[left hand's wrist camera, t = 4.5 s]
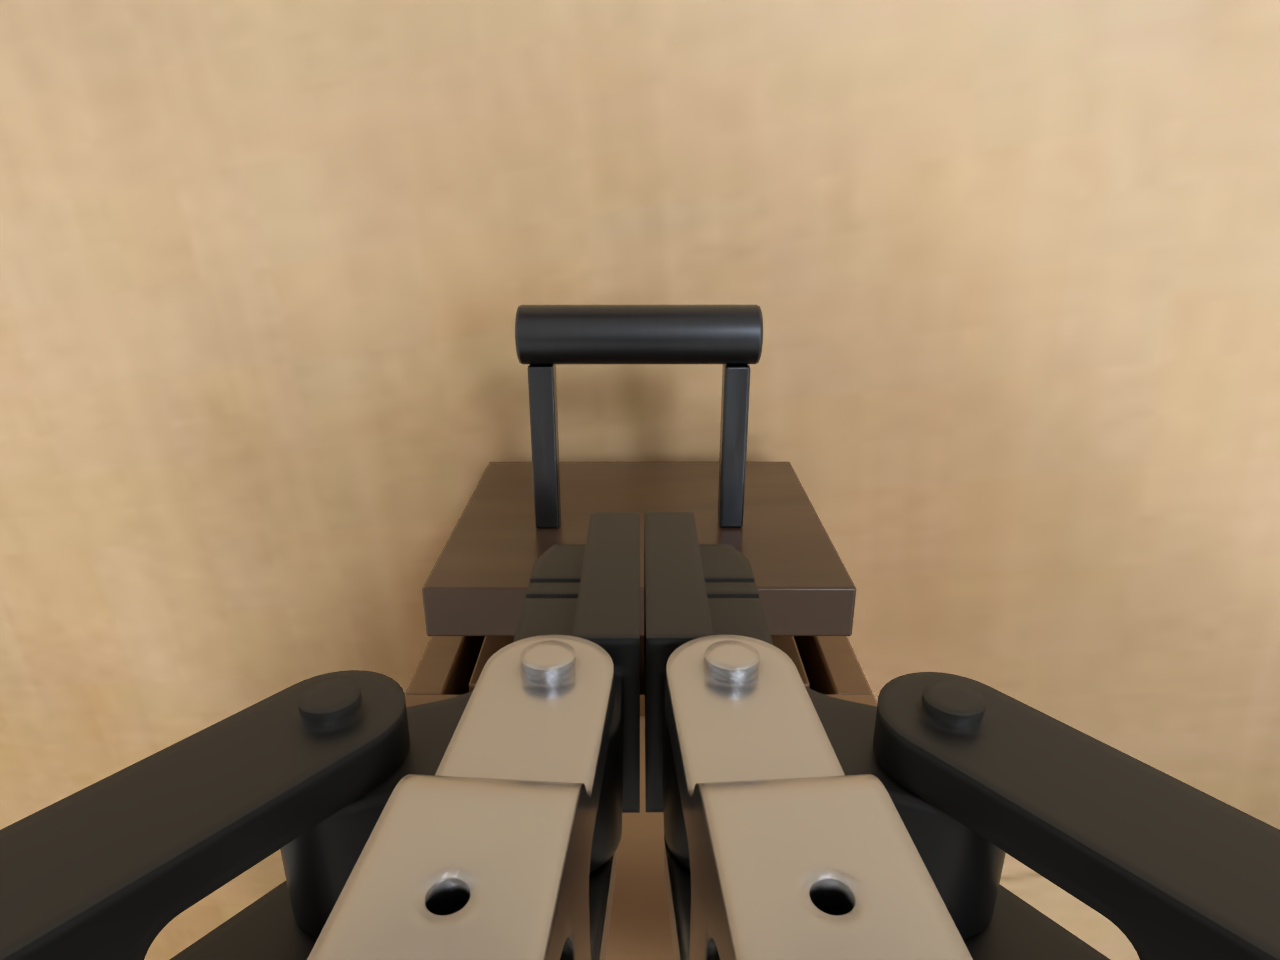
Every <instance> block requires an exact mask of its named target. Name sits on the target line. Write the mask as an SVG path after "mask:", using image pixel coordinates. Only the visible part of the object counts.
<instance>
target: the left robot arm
mask: <svg viewBox="0 0 1280 960" xmlns="http://www.w3.org/2000/svg"><path fill="white" fill-rule="evenodd" d="M644 687H645V800H646V812H663V814H664V878H665V886H666V894H667V901H668V909H669V917H670V925H671V933H672V940H673V948H674V956H675V960H1110V959H1109V958H1107V957H1106V956H1104V955H1103V954H1101V953H1100V952H1098V951H1097V950H1095V949H1094V948H1092V947H1091V946H1089V945H1088V944H1086V943H1085V942H1084V941H1082V940H1081V939H1079V938H1078V937H1076V936H1075V935H1073V934H1072V933H1070V932H1069V931H1067V930H1066V929H1064V928H1063V927H1061V926H1060V925H1059V924H1057V923H1056V922H1054V921H1053V920H1051V919H1050V918H1048V917H1047V916H1045V915H1044V914H1042V913H1041V912H1039V911H1038V910H1036V909H1035V908H1034V907H1032V906H1031V905H1029V904H1028V903H1026V902H1025V901H1023V900H1022V899H1020V898H1019V897H1017V896H1016V895H1014V894H1013V893H1011V892H1010V891H1009V890H1007V889H1006V888H1004V887H1003V886H1001V885H1000V884H999V882H1000V877H1001V872H1002V867H1003V863H1004V858H1005V853H1007V854H1009V855H1010V856H1012V857H1014V858H1015V859H1017V860H1018V861H1020V862H1021V863H1023V864H1024V865H1026V866H1028V867H1029V868H1031V869H1032V870H1034V871H1035V872H1037V873H1038V874H1040V875H1041V876H1043V877H1045V878H1046V879H1048V880H1049V881H1051V882H1052V883H1054V884H1055V885H1057V886H1059V887H1060V888H1062V889H1063V890H1065V891H1066V892H1068V893H1069V894H1071V895H1073V896H1074V897H1076V898H1077V899H1079V900H1080V901H1082V902H1083V903H1085V904H1086V905H1088V906H1090V907H1091V908H1093V909H1094V910H1096V911H1097V912H1099V913H1100V914H1102V915H1103V916H1105V917H1106V918H1108V919H1109V920H1110V921H1111V922H1113V923H1114V924H1115V925H1116V926H1117V927H1118V928H1119V929H1120V930H1121V931H1122V932H1123V933H1124V934H1125V935H1126V937H1127V938H1128V939H1129V941H1130V942H1131V943H1132V945H1133V946H1134V948H1135V950H1136V951H1137V954H1138V956H1139V958H1140V960H1280V830H1279V829H1277V828H1274V827H1272V826H1270V825H1268V824H1266V823H1264V822H1262V821H1260V820H1258V819H1256V818H1254V817H1252V816H1250V815H1248V814H1246V813H1244V812H1242V811H1240V810H1238V809H1236V808H1234V807H1232V806H1230V805H1228V804H1226V803H1224V802H1222V801H1220V800H1218V799H1216V798H1214V797H1212V796H1210V795H1208V794H1206V793H1204V792H1202V791H1200V790H1198V789H1196V788H1194V787H1192V786H1190V785H1188V784H1185V783H1183V782H1181V781H1179V780H1177V779H1175V778H1173V777H1171V776H1169V775H1167V774H1165V773H1163V772H1161V771H1159V770H1157V769H1155V768H1153V767H1151V766H1149V765H1147V764H1145V763H1143V762H1141V761H1139V760H1137V759H1135V758H1133V757H1131V756H1129V755H1127V754H1125V753H1123V752H1121V751H1119V750H1117V749H1115V748H1113V747H1111V746H1109V745H1107V744H1105V743H1103V742H1101V741H1099V740H1096V739H1094V738H1092V737H1090V736H1088V735H1086V734H1084V733H1082V732H1080V731H1078V730H1076V729H1074V728H1072V727H1070V726H1068V725H1066V724H1064V723H1062V722H1060V721H1058V720H1056V719H1054V718H1052V717H1050V716H1048V715H1046V714H1044V713H1042V712H1040V711H1038V710H1036V709H1034V708H1032V707H1030V706H1028V705H1026V704H1024V703H1022V702H1020V701H1018V700H1016V699H1014V698H1012V697H1010V696H1007V695H1005V694H1003V693H1001V692H999V691H997V690H995V689H993V688H991V687H989V686H987V685H985V684H982V683H980V682H978V681H975V680H972V679H969V678H965V677H961V676H957V675H953V674H946V673H937V672H919V673H912V674H907V675H903V676H899V677H897V678H895V679H893V680H891V681H890V682H888V683H887V684H886V685H885V686H884V687H883V688H882V690H881V691H880V694H879V696H878V704H877V706H872V705H867V704H862V703H857V702H852V701H847V700H842V699H838V698H834V697H830V696H827V695H824V694H821V693H819V692H816V691H814V690H812V689H810V688H808V687H806V686H804V683H803V681H802V679H801V677H800V674H799V672H798V670H797V668H796V666H795V664H794V662H793V661H792V659H791V658H790V657H789V656H788V655H787V654H786V653H784V652H783V651H782V650H780V649H779V648H777V647H775V646H774V645H773V642H772V638H771V635H770V631H769V628H768V624H767V621H766V617H765V614H764V610H763V607H762V603H761V600H760V598H759V593H758V589H757V586H756V582H755V581H754V575H753V572H752V568H751V565H750V561H749V559H747V558H746V557H745V556H744V555H743V554H741V553H740V552H739V551H738V550H737V549H735V548H734V547H733V546H732V545H731V544H699V542H698V536H697V530H696V523H695V517H694V512H644ZM622 813H640V512H591V513H590V520H589V527H588V533H587V540H586V544H554V545H553V546H551V547H550V548H549V549H548V550H547V551H546V552H544V553H543V554H542V555H541V556H540V557H538V558H537V559H536V560H535V563H534V567H533V570H532V574H531V578H530V583H529V585H528V589H527V592H526V598H525V600H524V603H523V607H522V611H521V614H520V618H519V622H518V625H517V629H516V633H515V636H514V640H513V643H511V644H508V645H507V646H505V647H503V648H501V649H500V650H498V651H497V652H496V653H494V654H493V655H492V656H491V657H490V658H489V659H488V661H487V662H486V664H485V666H484V668H483V670H482V672H481V674H480V677H479V679H478V681H477V683H476V686H475V688H474V690H472V691H470V692H468V693H465V694H462V695H460V696H457V697H453V698H449V699H445V700H441V701H436V702H431V703H426V704H421V705H416V706H411V707H406V701H405V694H404V692H403V689H402V688H401V686H400V685H399V684H398V683H397V682H396V681H394V680H393V679H392V678H389V677H387V676H385V675H382V674H379V673H375V672H369V671H354V670H352V671H339V672H333V673H327V674H323V675H319V676H316V677H313V678H310V679H307V680H304V681H302V682H299V683H297V684H295V685H293V686H291V687H289V688H287V689H285V690H283V691H281V692H279V693H277V694H275V695H273V696H271V697H268V698H266V699H264V700H262V701H260V702H258V703H256V704H254V705H252V706H250V707H248V708H246V709H244V710H242V711H240V712H238V713H236V714H234V715H232V716H230V717H228V718H226V719H224V720H222V721H220V722H218V723H216V724H214V725H212V726H210V727H208V728H206V729H204V730H202V731H200V732H198V733H196V734H194V735H192V736H190V737H188V738H186V739H184V740H182V741H179V742H177V743H175V744H173V745H171V746H169V747H167V748H165V749H163V750H161V751H159V752H157V753H155V754H153V755H151V756H149V757H147V758H145V759H143V760H141V761H139V762H137V763H135V764H133V765H131V766H129V767H127V768H125V769H123V770H121V771H119V772H117V773H115V774H113V775H111V776H109V777H107V778H105V779H103V780H101V781H99V782H97V783H95V784H93V785H90V786H88V787H86V788H84V789H82V790H80V791H78V792H76V793H74V794H72V795H70V796H68V797H66V798H64V799H62V800H60V801H58V802H56V803H54V804H52V805H50V806H48V807H46V808H44V809H42V810H40V811H38V812H36V813H34V814H32V815H30V816H28V817H26V818H24V819H22V820H20V821H18V822H16V823H14V824H12V825H10V826H8V827H6V828H4V829H2V830H0V960H144V958H145V955H146V953H147V951H148V949H149V947H150V945H151V944H152V942H153V940H154V939H155V937H156V936H157V935H158V934H159V932H160V931H161V930H162V929H163V928H164V927H165V926H166V925H167V924H168V923H169V922H170V921H171V920H172V919H173V918H174V917H176V916H177V915H179V914H180V913H181V912H183V911H184V910H186V909H187V908H189V907H190V906H192V905H194V904H195V903H197V902H198V901H200V900H201V899H203V898H204V897H206V896H208V895H209V894H211V893H212V892H214V891H215V890H217V889H218V888H220V887H221V886H223V885H225V884H226V883H228V882H229V881H231V880H232V879H234V878H235V877H237V876H239V875H240V874H242V873H243V872H245V871H246V870H248V869H249V868H251V867H252V866H254V865H256V864H257V863H259V862H260V861H262V860H263V859H265V858H266V857H268V856H270V855H271V854H273V853H274V852H276V851H277V850H279V849H281V854H282V860H283V865H284V870H285V875H286V881H285V882H283V883H282V884H280V885H279V886H277V887H276V888H274V889H273V890H272V891H270V892H269V893H267V894H266V895H264V896H263V897H261V898H260V899H258V900H257V901H255V902H254V903H252V904H251V905H249V906H248V907H247V908H245V909H244V910H242V911H241V912H239V913H238V914H236V915H235V916H233V917H232V918H230V919H229V920H227V921H226V922H224V923H223V924H222V925H220V926H219V927H217V928H216V929H214V930H213V931H211V932H210V933H208V934H207V935H205V936H204V937H202V938H201V939H199V940H198V941H196V942H195V943H194V944H192V945H191V946H189V947H188V948H186V949H185V950H183V951H182V952H180V953H179V954H177V955H176V956H174V957H173V958H171V959H170V960H605V956H606V948H607V940H608V933H609V925H610V917H611V909H612V901H613V894H614V886H615V878H616V850H617V848H618V846H619V843H620V840H621V834H622Z"/></svg>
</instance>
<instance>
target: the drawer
mask: <svg viewBox="0 0 1280 960" xmlns="http://www.w3.org/2000/svg"><path fill="white" fill-rule="evenodd" d="M515 341H516V351H517V356H518V359H519V362H520V363H521V364H530V365H529V366H528V383H529V403H530V423H531V444H532V462H490V463H489V465H488V466H487V468H486V470H485V472H484V474H483V476H482V478H481V480H480V482H479V483H478V485H477V487H476V489H475V491H474V493H473V495H472V497H471V498H470V500H469V502H468V504H467V506H466V508H465V510H464V512H463V513H462V515H461V517H460V519H459V521H458V523H457V525H456V527H455V528H454V530H453V532H452V534H451V536H450V538H449V540H448V542H447V543H446V545H445V547H444V549H443V551H442V553H441V555H440V557H439V558H438V560H437V562H436V564H435V566H434V568H433V570H432V572H431V573H430V575H429V577H428V579H427V581H426V583H425V585H424V587H423V589H422V592H423V602H424V612H425V621H426V631H427V635H428V636H485V638H484V641H483V644H482V647H481V650H480V653H479V656H478V659H477V662H476V664H475V667H474V670H473V673H472V676H471V679H470V682H469V692H470V691H472V690H474V688H475V686H476V683H477V681H478V679H479V677H480V674H481V672H482V670H483V668H484V666H485V664H486V662H487V661H488V659H489V658H490V657H491V656H492V655H493V654H494V653H496V652H497V651H498V650H500V649H501V648H503V647H505V646H507V645H508V644H511V643H513V640H514V636H515V633H516V629H517V625H518V622H519V618H520V614H521V611H522V607H523V603H524V600H525V598H526V592H527V589H528V585H529V583H530V578H531V574H532V570H533V567H534V563H535V560H536V559H537V558H538V557H540V556H541V555H542V554H543V553H544V552H546V551H547V550H548V549H549V548H550V547H551V546H553V545H554V544H586V540H587V533H588V527H589V520H590V513H591V512H640V695H645V687H644V512H694V517H695V523H696V530H697V536H698V542H699V544H731V545H732V546H733V547H734V548H735V549H737V550H738V551H739V552H740V553H741V554H743V555H744V556H745V557H746V558H747V559H749V561H750V565H751V568H752V572H753V575H754V581H755V582H756V586H757V589H758V593H759V598H760V600H761V603H762V607H763V610H764V614H765V617H766V621H767V624H768V628H769V631H770V635H771V638H772V642H773V645H774V646H775V647H777V648H779V649H780V650H782V651H783V652H784V653H786V654H787V655H788V656H789V657H790V658H791V659H792V661H793V662H794V664H795V666H796V668H797V670H798V672H799V674H800V677H801V679H802V681H803V683H804V686H806V687H808V688H810V684H809V681H808V678H807V675H806V672H805V669H804V666H803V663H802V660H801V657H800V654H799V651H798V648H797V645H796V642H795V639H794V636H850V635H851V634H852V625H853V616H854V606H855V596H856V588H855V586H854V584H853V582H852V580H851V578H850V576H849V574H848V572H847V570H846V569H845V567H844V565H843V563H842V561H841V559H840V557H839V555H838V553H837V551H836V550H835V548H834V546H833V544H832V542H831V540H830V538H829V536H828V534H827V532H826V531H825V529H824V527H823V525H822V523H821V521H820V519H819V517H818V515H817V513H816V512H815V510H814V508H813V506H812V504H811V502H810V500H809V498H808V496H807V494H806V493H805V491H804V489H803V487H802V485H801V483H800V481H799V479H798V477H797V475H796V473H795V472H794V470H793V468H792V466H791V464H790V462H746V451H747V429H748V408H749V386H750V366H749V365H748V364H756V363H758V362H759V360H760V357H761V352H762V343H763V318H762V312H761V309H760V306H758V305H521V306H519V307H518V309H517V313H516V320H515ZM556 364H723V375H722V403H721V432H720V461H719V462H559V442H558V415H557V388H556Z"/></svg>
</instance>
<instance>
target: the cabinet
mask: <svg viewBox="0 0 1280 960" xmlns="http://www.w3.org/2000/svg"><path fill="white" fill-rule="evenodd" d="M484 638H485V636H432V637H431V639H430V641H429V644H428V646H427V648H426V650H425V652H424V655H423V657H422V659H421V661H420V663H419V665H418V668H417V670H416V672H415V674H414V676H413V679H412V681H411V683H410V685H409V687H408V690H407V692H406V695H405V701H406V707H411V706H416V705H421V704H426V703H431V702H436V701H441V700H445V699H449V698H453V697H457V696H460V695H462V694H465V693H468V692H469V682H470V679H471V676H472V673H473V670H474V667H475V664H476V662H477V659H478V656H479V653H480V650H481V647H482V644H483V641H484ZM794 639H795V642H796V645H797V648H798V651H799V654H800V657H801V660H802V663H803V666H804V669H805V672H806V675H807V678H808V681H809V684H810V689H812V690H814V691H816V692H819V693H821V694H824V695H827V696H830V697H834V698H838V699H842V700H847V701H852V702H857V703H862V704H867V705H872V706H877V704H878V703H877V701H876V699H875V697H874V695H873V694H872V691H871V689H870V687H869V684H868V682H867V680H866V678H865V676H864V673H863V671H862V669H861V667H860V665H859V662H858V660H857V658H856V656H855V653H854V651H853V649H852V647H851V645H850V642H849V640H848V638H847V636H794ZM605 960H675V956H674V948H673V940H672V933H671V925H670V917H669V909H668V901H667V894H666V886H665V878H664V814H663V812H646V800H645V695H640V813H622V834H621V840H620V843H619V846H618V848H617V850H616V878H615V886H614V894H613V901H612V909H611V917H610V925H609V933H608V940H607V948H606V956H605Z"/></svg>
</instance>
